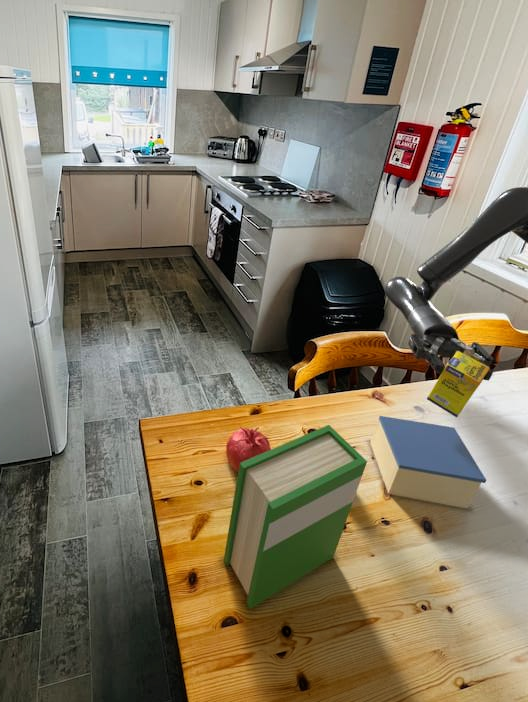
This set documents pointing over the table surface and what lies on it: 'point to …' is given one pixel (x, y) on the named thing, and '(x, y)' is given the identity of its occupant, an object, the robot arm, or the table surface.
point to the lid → (430, 449)
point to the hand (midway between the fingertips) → (465, 373)
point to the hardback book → (291, 510)
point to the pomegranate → (245, 446)
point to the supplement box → (457, 383)
